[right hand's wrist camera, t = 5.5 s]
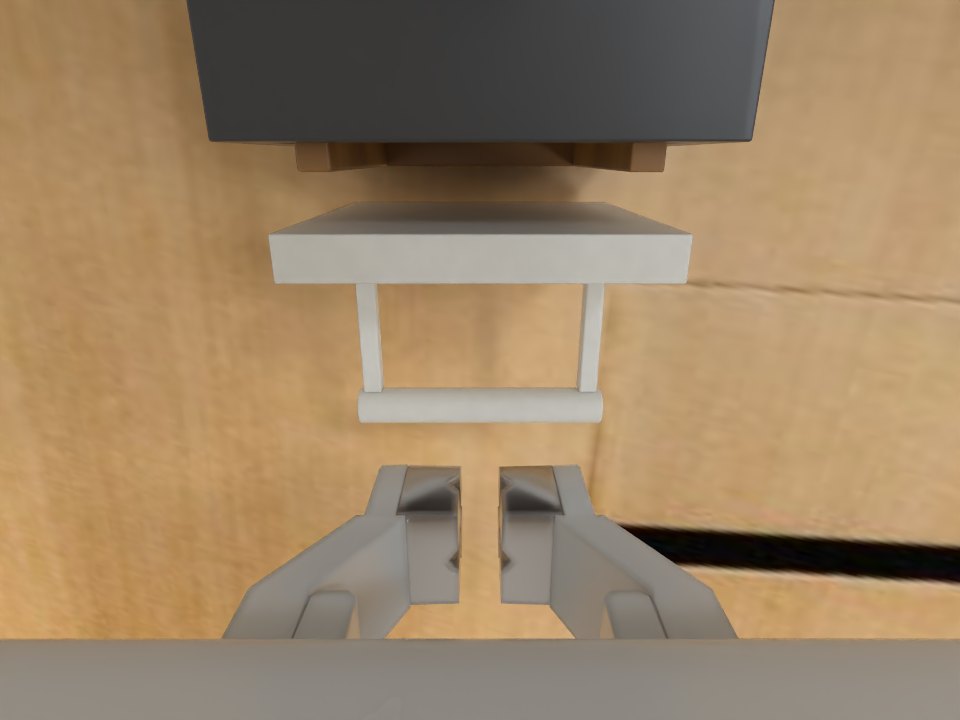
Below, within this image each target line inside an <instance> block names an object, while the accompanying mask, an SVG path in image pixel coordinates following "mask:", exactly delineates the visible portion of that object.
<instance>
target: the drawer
mask: <svg viewBox="0 0 960 720" xmlns="http://www.w3.org/2000/svg"><path fill="white" fill-rule="evenodd" d="M666 147H667V143H295V152H296V161H297V168H298V170H299V171H301V172H332V171H342V170H352V169H361V168H371V167H381V166H578V167H588V168H598V169H608V170H617V171H627V172H663V171H664V165H665V156H666ZM692 237H693V235H692V234H690V233H687V232H684V231H682V230H679V229H676V228H673V227H671V226H668V225H665V224H662V223H660V222H657V221H654V220H652V219H649V218H646V217H643V216H641V215H638V214H635V213H633V212H630V211H627V210H624V209H622V208H619V207H616V206H613V205H611V204H608V203H605V202H355V203H352V204H350V205H347V206H344V207H342V208H339V209H336V210H333V211H331V212H328V213H325V214H323V215H320V216H317V217H314V218H312V219H309V220H306V221H304V222H301V223H298V224H296V225H293V226H290V227H287V228H285V229H282V230H279V231H277V232H274V233H271V234H269V235H268V238H269V246H270V253H271V261H272V268H273V275H274V282H275V283H276V284H355V286H356V298H357V311H358V323H359V335H360V347H361V360H362V372H363V384H364V388H361V389H360V392H359V395H358V417H359V420H360V422H361V423H599V422H600V421H601V419H602V414H603V398H602V393H601V390H600V389H599V388H597V377H598V365H599V352H600V340H601V328H602V316H603V303H604V291H605V284H685V283H686V282H687V275H688V267H689V260H690V252H691V245H692ZM377 284H583V297H582V312H581V327H580V341H579V356H578V371H577V387H578V388H383V386H384V377H383V362H382V347H381V332H380V317H379V302H378V287H377Z"/></svg>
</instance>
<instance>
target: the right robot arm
mask: <svg viewBox="0 0 960 720" xmlns="http://www.w3.org/2000/svg"><path fill="white" fill-rule="evenodd" d="M461 491H462V480H461V466H424V465H409V466H408V465H383V466H381V467H380V468H379V471H378V474H377V477H376V480H375V483H374V486H373V489H372V493H371V496H370V499H369V502H368V505H367V508H366V511H365V514H364V515H356V516H355V517H353V518H352V519H350V520H349V521H347V522H346V523H344V524H343V525H341V526H340V527H338V528H337V529H336V530H334V531H333V532H331V533H330V534H328V535H327V536H325V537H324V538H322V539H321V540H319V541H318V542H316V543H315V544H313V545H312V546H310V547H309V548H307V549H306V550H305V551H303V552H302V553H300V554H299V555H297V556H296V557H294V558H293V559H291V560H290V561H288V562H287V563H285V564H284V565H282V566H281V567H279V568H278V569H276V570H275V571H274V572H272V573H271V574H269V575H268V576H266V577H265V578H263V579H262V580H260V581H259V582H257V583H256V584H254V585H253V586H251V587H250V588H249V589H248V591H247V592H246V594H245V596H244V598H243V600H242V602H241V603H240V605H239V607H238V609H237V611H236V613H235V614H234V616H233V618H232V620H231V622H230V624H229V625H228V627H227V629H226V631H225V633H224V635H223V636H222V638H221V639H0V720H960V639H738V637H737V635H736V633H735V631H734V629H733V627H732V626H731V624H730V622H729V620H728V618H727V616H726V614H725V613H724V611H723V609H722V607H721V605H720V603H719V601H718V599H717V598H716V596H715V594H714V592H713V590H712V589H711V588H710V587H708V586H707V585H705V584H704V583H702V582H701V581H699V580H698V579H696V578H695V577H693V576H692V575H690V574H689V573H688V572H686V571H685V570H683V569H682V568H680V567H679V566H677V565H676V564H674V563H673V562H671V561H670V560H668V559H667V558H665V557H664V556H663V555H661V554H660V553H658V552H657V551H655V550H654V549H652V548H651V547H649V546H648V545H646V544H645V543H643V542H642V541H641V540H639V539H638V538H636V537H635V536H633V535H632V534H630V533H629V532H627V531H626V530H624V529H623V528H621V527H620V526H618V525H617V524H616V523H614V522H613V521H611V520H610V519H608V518H607V517H605V516H604V515H596V514H595V511H594V508H593V505H592V502H591V499H590V496H589V493H588V490H587V487H586V484H585V481H584V478H583V475H582V472H581V469H580V467H579V466H578V465H555V466H512V467H499V475H498V493H499V506H498V553H499V558H500V573H499V576H500V592H501V603H506V604H542V605H550V608H551V609H552V610H553V611H554V613H555V614H556V615H557V616H558V617H559V619H560V620H561V621H562V622H563V624H564V625H565V626H566V627H567V628H568V630H569V631H570V632H571V633H572V634H573V636H574V637H575V638H576V639H384V638H385V637H386V636H387V635H388V634H389V632H390V631H391V630H392V629H393V627H394V626H395V625H396V624H397V623H398V621H399V620H400V619H401V618H402V617H403V615H404V614H405V613H406V612H407V611H408V609H409V608H410V605H418V604H452V603H459V592H460V558H461V551H462V506H461Z"/></svg>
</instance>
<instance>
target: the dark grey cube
mask: <svg viewBox="0 0 960 720" xmlns="http://www.w3.org/2000/svg"><path fill="white" fill-rule="evenodd" d="M774 1H775V0H187V6H188V13H189V19H190V25H191V31H192V37H193V43H194V50H195V56H196V62H197V68H198V74H199V81H200V87H201V93H202V99H203V105H204V112H205V118H206V124H207V130H208V136H209V140H210V141H212V142H226V143H244V144H263V145H281V146H295V143H667V146H678V145H697V144H715V143H735V142H749V141H751V140H752V137H753V130H754V124H755V118H756V112H757V106H758V100H759V93H760V87H761V81H762V75H763V69H764V63H765V56H766V50H767V44H768V38H769V32H770V26H771V19H772V13H773V7H774Z"/></svg>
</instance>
